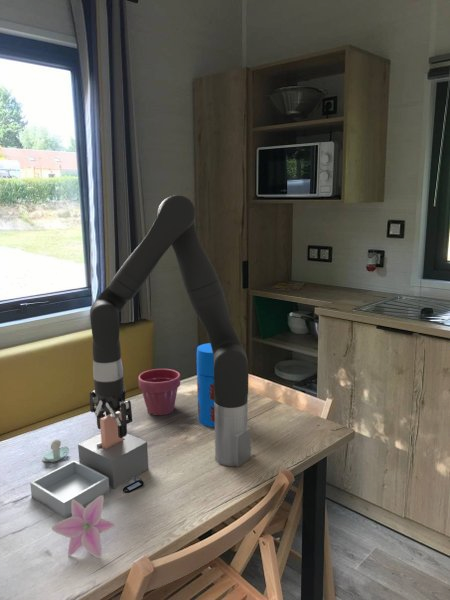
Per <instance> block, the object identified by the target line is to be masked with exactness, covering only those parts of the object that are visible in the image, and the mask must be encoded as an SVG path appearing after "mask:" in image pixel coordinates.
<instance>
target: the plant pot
mask: <svg viewBox="0 0 450 600" xmlns="http://www.w3.org/2000/svg"><path fill="white" fill-rule="evenodd" d="M180 386H181V374H180V372H179V371H177V370H175V369H172V368H171V369H170V368H155V369H149V370H146V371H145V370H144V371H143V372H141V373H140V374H139V375H138V388H139V389H140V391H141V392H142V396H143V400H144V404H145V407H146V410H147V412H148V413H149V414H150V415H153V416H154V415H155V416H163V415H164V416H165V415H168V414H171V413H172V412H174V409H175V404H176V399H177V395H178V388H180Z"/></svg>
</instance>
